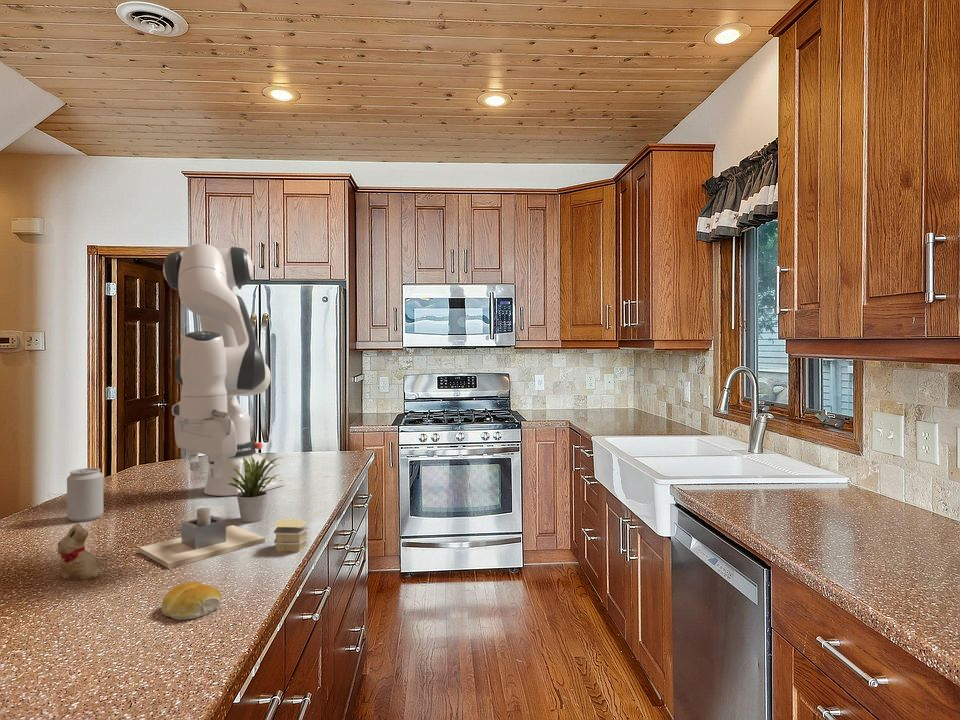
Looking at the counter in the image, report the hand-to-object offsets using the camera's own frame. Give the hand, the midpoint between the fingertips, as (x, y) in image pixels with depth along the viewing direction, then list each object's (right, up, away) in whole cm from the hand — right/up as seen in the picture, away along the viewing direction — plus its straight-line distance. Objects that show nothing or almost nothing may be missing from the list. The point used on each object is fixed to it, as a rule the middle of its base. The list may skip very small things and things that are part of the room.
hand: (206, 473), depth 125 cm
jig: (0, -16, 0) cm, 16 cm away
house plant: (+3, -15, +20) cm, 26 cm away
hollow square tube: (-1, -15, 0) cm, 15 cm away
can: (-39, -15, +21) cm, 47 cm away
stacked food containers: (+18, -16, 0) cm, 24 cm away
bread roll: (+11, -17, -29) cm, 35 cm away
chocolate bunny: (-16, -16, -16) cm, 28 cm away
